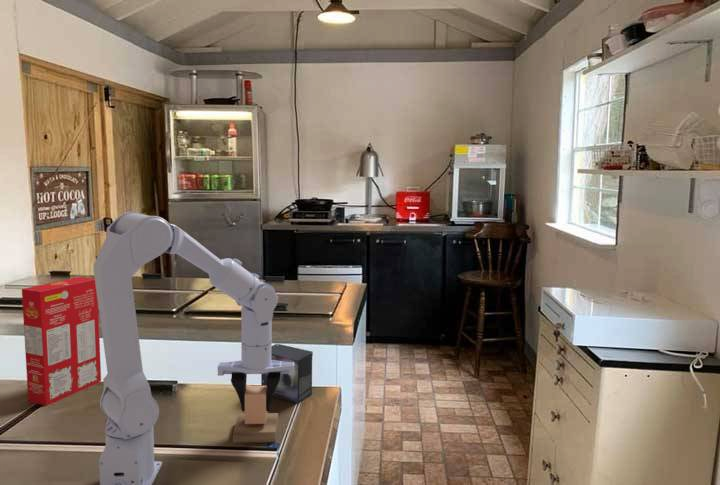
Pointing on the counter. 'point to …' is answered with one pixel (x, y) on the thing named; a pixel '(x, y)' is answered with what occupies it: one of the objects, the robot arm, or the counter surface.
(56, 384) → the food packaging
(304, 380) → the small box
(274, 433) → the plinth
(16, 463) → the counter surface
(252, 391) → the block
